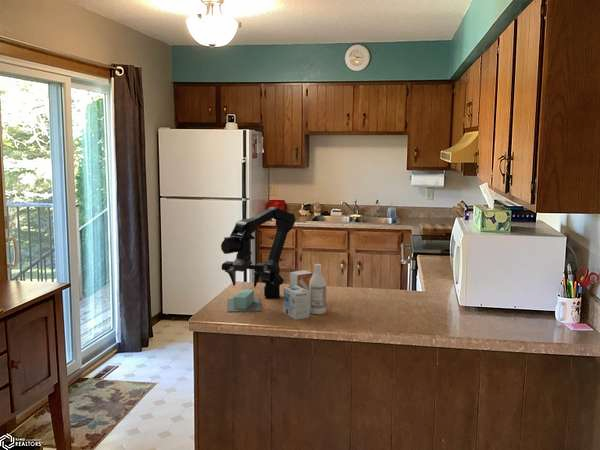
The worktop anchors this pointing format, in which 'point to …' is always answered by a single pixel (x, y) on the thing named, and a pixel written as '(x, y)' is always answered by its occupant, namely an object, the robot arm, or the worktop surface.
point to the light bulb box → (296, 302)
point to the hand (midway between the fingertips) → (244, 286)
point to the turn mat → (251, 308)
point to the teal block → (243, 299)
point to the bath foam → (317, 292)
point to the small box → (300, 279)
